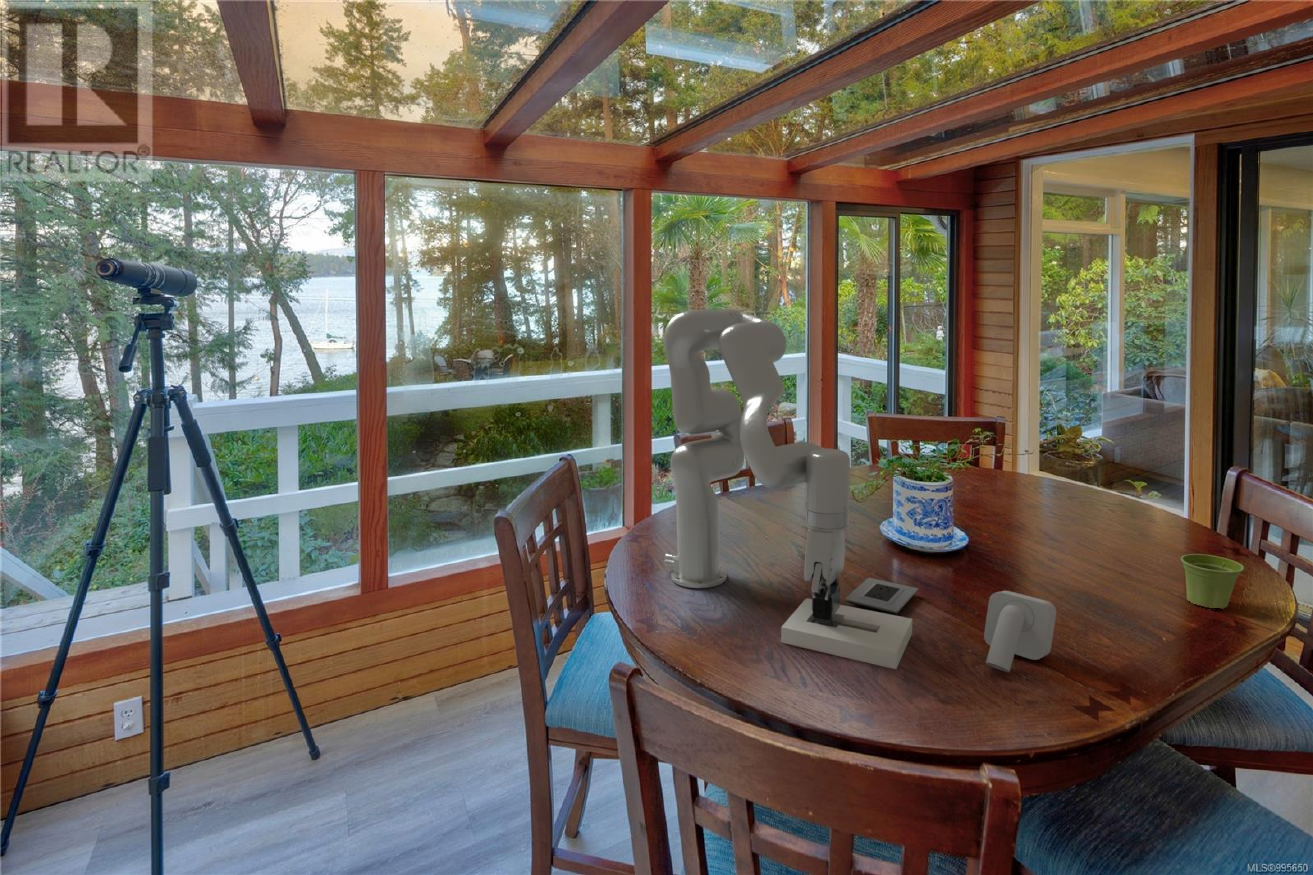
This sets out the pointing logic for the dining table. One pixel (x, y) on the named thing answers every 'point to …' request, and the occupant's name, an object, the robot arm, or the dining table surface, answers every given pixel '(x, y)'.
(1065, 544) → the dining table surface
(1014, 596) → the wall hook
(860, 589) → the electrical outlet
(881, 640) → the keyhole plate
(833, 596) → the keyhole peg
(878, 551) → the dining table surface
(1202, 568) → the plant pot
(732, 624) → the dining table surface
